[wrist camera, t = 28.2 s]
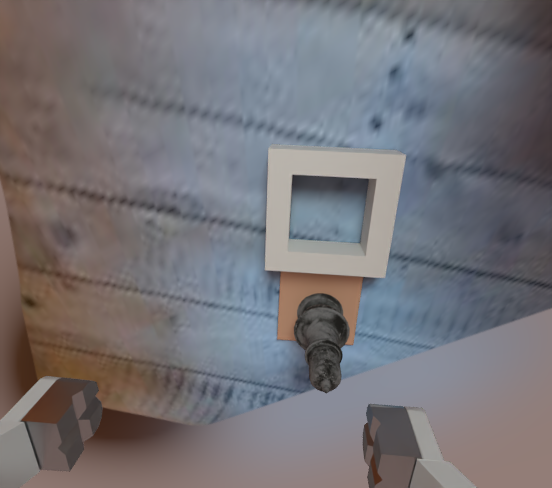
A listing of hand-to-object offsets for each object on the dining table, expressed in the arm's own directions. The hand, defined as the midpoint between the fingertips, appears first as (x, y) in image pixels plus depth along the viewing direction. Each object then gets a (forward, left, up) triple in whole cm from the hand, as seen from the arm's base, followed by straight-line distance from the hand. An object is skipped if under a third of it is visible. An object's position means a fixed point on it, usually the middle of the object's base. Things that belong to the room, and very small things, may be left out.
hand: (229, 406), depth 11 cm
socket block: (-5, +1, -28) cm, 28 cm away
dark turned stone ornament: (-5, +14, -27) cm, 31 cm away
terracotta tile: (-5, +13, -28) cm, 31 cm away
